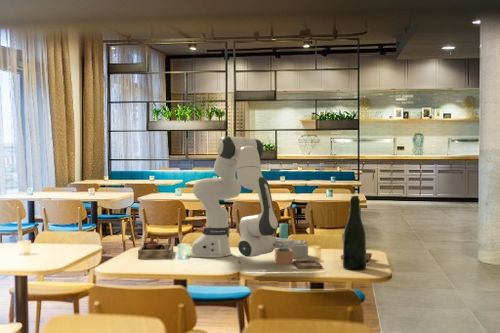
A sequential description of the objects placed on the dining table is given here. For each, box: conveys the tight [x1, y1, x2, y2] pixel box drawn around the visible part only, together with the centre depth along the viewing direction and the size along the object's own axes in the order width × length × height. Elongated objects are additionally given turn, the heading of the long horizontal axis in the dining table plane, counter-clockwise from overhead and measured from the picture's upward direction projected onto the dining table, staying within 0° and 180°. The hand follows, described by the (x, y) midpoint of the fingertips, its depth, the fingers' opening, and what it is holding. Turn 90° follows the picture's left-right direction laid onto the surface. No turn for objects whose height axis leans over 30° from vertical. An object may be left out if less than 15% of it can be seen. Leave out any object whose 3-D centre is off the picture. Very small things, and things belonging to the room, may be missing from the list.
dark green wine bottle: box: [342, 195, 367, 271], centre depth 281 cm, size 10×10×33 cm
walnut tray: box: [293, 259, 323, 270], centre depth 283 cm, size 11×14×2 cm
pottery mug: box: [142, 241, 165, 250], centre depth 313 cm, size 12×10×8 cm
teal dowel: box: [278, 223, 289, 251], centre depth 291 cm, size 4×4×18 cm
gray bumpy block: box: [288, 239, 309, 260], centre depth 307 cm, size 10×13×9 cm
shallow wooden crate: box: [137, 243, 174, 260], centre depth 314 cm, size 16×18×4 cm
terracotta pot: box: [274, 248, 294, 265], centre depth 292 cm, size 8×8×6 cm
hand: (282, 239), depth 291 cm, fingers open, 8 cm apart
